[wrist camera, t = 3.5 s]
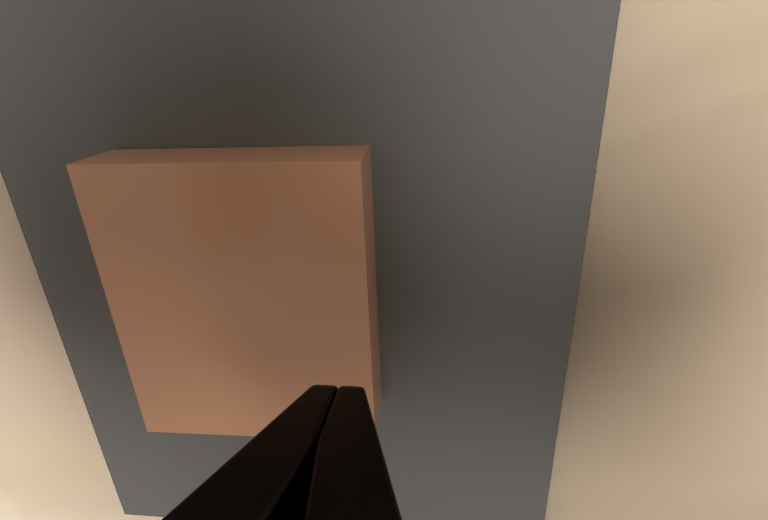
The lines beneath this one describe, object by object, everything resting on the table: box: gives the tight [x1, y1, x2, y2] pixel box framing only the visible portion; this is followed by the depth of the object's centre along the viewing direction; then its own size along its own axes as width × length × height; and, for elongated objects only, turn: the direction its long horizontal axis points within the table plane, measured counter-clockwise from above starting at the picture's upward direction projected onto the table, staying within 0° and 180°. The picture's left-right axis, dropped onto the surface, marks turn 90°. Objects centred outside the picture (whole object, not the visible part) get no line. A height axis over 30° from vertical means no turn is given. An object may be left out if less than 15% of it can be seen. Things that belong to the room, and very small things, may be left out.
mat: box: [0, 0, 621, 520], centre depth 13 cm, size 16×14×1 cm
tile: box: [66, 145, 382, 436], centre depth 11 cm, size 7×2×6 cm
